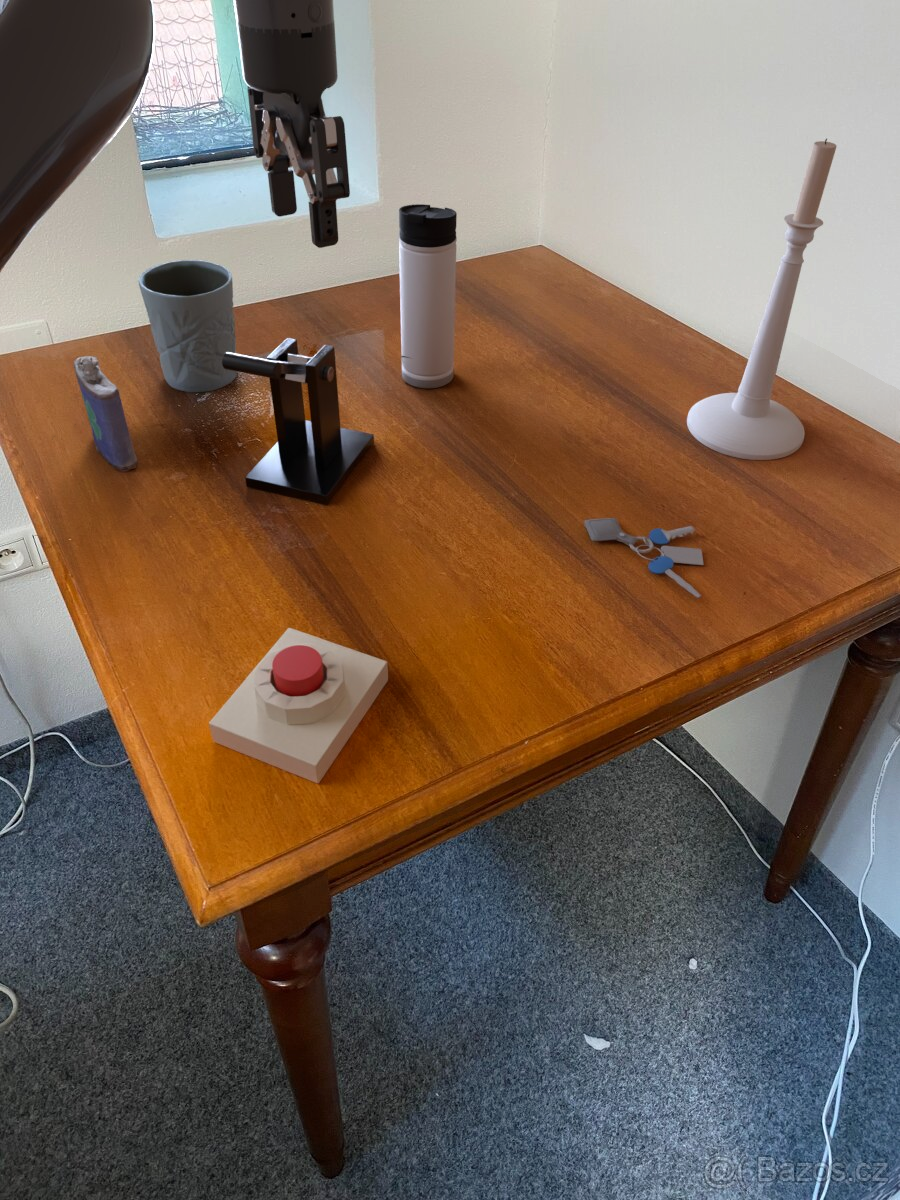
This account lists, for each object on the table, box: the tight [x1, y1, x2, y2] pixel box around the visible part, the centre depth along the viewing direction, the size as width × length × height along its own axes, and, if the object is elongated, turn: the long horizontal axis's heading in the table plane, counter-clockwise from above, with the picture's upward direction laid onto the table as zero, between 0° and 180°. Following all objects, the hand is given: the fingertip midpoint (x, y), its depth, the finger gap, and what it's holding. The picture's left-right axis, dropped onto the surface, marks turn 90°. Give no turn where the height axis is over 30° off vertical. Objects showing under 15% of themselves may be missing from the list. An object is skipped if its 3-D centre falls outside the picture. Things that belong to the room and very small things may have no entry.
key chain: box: [583, 517, 705, 599], centre depth 82 cm, size 14×8×1 cm, turn 46°
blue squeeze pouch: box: [73, 355, 138, 472], centre depth 89 cm, size 9×3×11 cm, turn 33°
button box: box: [208, 627, 389, 784], centre depth 66 cm, size 11×9×4 cm
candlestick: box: [686, 138, 837, 461], centre depth 89 cm, size 13×13×30 cm
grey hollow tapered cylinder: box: [137, 259, 238, 393], centre depth 101 cm, size 10×10×12 cm
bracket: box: [244, 337, 375, 506], centre depth 88 cm, size 12×9×13 cm
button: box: [272, 645, 324, 697], centre depth 64 cm, size 4×4×2 cm
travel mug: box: [398, 203, 458, 389], centre depth 99 cm, size 6×7×20 cm
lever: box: [222, 352, 314, 384], centre depth 80 cm, size 12×5×2 cm, turn 162°
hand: (304, 229), depth 79 cm, fingers open, 8 cm apart
